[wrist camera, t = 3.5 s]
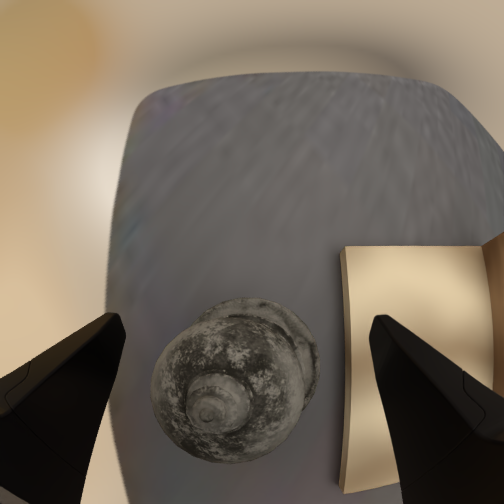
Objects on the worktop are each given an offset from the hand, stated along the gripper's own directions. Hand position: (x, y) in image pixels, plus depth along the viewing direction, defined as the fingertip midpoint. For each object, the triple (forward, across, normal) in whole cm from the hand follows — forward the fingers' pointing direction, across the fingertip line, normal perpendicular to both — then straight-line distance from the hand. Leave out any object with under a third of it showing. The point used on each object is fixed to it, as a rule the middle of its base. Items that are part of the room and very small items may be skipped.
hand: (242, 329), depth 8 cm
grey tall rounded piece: (+4, 0, +6) cm, 7 cm away
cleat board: (+3, -11, +6) cm, 13 cm away
